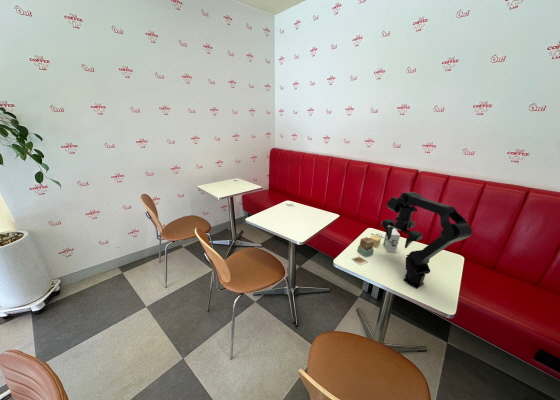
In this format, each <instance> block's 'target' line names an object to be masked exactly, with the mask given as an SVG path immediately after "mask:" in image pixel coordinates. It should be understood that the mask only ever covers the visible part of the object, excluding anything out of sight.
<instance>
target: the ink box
mask: <svg viewBox="0 0 560 400" xmlns="http://www.w3.org/2000/svg"><path fill="white" fill-rule="evenodd" d="M400 237H401V234H400V233H399V232H398V229H396V228H393V230H392V235H391V238H390V240H389V239H388V237H387V234H386V233H385V235H384V240H383V243H382V244H383V247H384V248H385V251H386V252H387V253H396V252H397V248H398V246H399V245H398V244H399V240H400Z"/></svg>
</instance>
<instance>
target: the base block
mask: <svg viewBox="0 0 560 400" xmlns="http://www.w3.org/2000/svg"><path fill="white" fill-rule="evenodd" d="M374 250H375V249H374V248H373V249H370V250H368V251H366V250H364V249H363V248H361V247H360V245H358V246H357V250H356V253H359V254H360V255H361V257H362V256H363V257H364V258H367V257H370V256H373V254H374V252H375V251H374Z"/></svg>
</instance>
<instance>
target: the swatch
mask: <svg viewBox="0 0 560 400" xmlns="http://www.w3.org/2000/svg"><path fill="white" fill-rule="evenodd" d="M351 260H352V261H354V263H356V264H357V265H359V266H362V265H365V264H367V263H368V260H366V259H364V258H363V257H362V256H360V255H358V256H355V257H353V258H351Z"/></svg>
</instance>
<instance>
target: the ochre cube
mask: <svg viewBox="0 0 560 400" xmlns="http://www.w3.org/2000/svg"><path fill="white" fill-rule="evenodd" d="M369 238H370V239H371V240H373V241H374V244H373V248H376V249H377V248H378V247H379V246H380V245H381V240H382V237H380V236H377V235H374V234H372V235H371V236H370V237H369Z"/></svg>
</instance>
